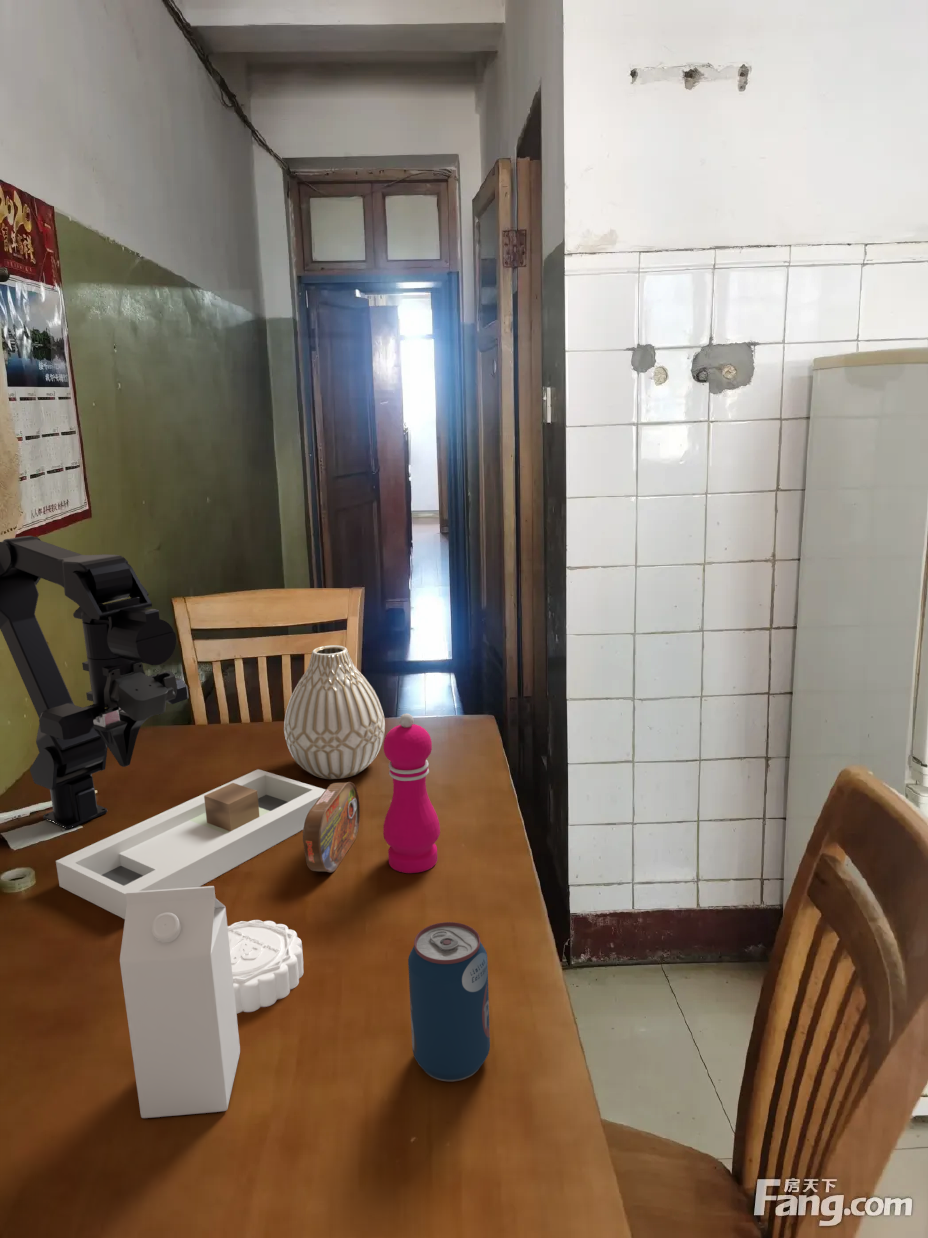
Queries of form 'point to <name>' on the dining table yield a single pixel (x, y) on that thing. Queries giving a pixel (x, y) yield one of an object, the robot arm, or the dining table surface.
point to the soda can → (449, 1001)
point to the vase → (333, 717)
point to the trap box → (185, 844)
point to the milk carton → (179, 1000)
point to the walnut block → (231, 806)
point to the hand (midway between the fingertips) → (124, 765)
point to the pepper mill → (410, 800)
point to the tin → (331, 827)
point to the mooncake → (263, 963)
